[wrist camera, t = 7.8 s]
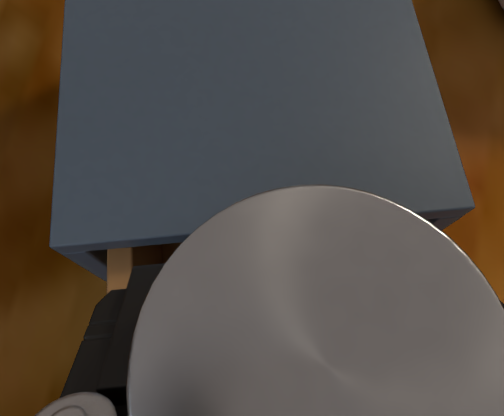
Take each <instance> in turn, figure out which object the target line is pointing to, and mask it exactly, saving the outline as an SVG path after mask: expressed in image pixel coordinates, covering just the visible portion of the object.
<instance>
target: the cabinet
mask: <svg viewBox="0 0 504 416" xmlns="http://www.w3.org/2000/svg"><path fill="white" fill-rule="evenodd" d="M316 184H324V185H334V186H345V187H349V188H354V189H358V190H363V191H367V192H370V193H373V194H376V195H379V196H382V197H385V198H388V199H390V200H392V201H394V202H396V203H398V204H400V205H403V206H405V207H407V208H409V209H411V210H412V211H414V212H415V213H417V214H419V215H420V216H422V217H423V218H425V219H427V220H428V221H430V222H431V223H432V224H434V225H435V226H436V227H437V228H439V229H440V230H443V229H444V228H446V227H447V226H449V225H450V224H452V223H453V222H455V221H456V220H458V219H459V218H461V217H462V216H463V215H465V214H466V213H468V212H469V211H471V210H472V209H474V208H475V204H474V201H473V198H472V195H471V191H470V188H469V185H468V182H467V179H466V175H465V172H464V169H463V166H462V162H461V159H460V156H459V153H458V149H457V146H456V143H455V140H454V136H453V133H452V130H451V127H450V123H449V120H448V117H447V114H446V110H445V107H444V104H443V101H442V97H441V94H440V91H439V88H438V84H437V81H436V78H435V75H434V71H433V68H432V65H431V62H430V59H429V55H428V52H427V49H426V46H425V42H424V39H423V36H422V33H421V29H420V26H419V23H418V20H417V16H416V13H415V10H414V7H413V3H412V0H65V10H64V26H63V41H62V57H61V72H60V88H59V104H58V119H57V135H56V150H55V166H54V182H53V197H52V213H51V228H50V244H49V246H50V248H52V249H53V250H55V251H57V252H58V253H61V254H62V255H64V256H65V257H67V258H68V259H70V260H72V261H73V262H75V263H77V264H78V265H80V266H82V267H83V268H85V269H86V270H88V271H90V272H91V273H93V274H95V275H96V276H98V277H100V278H101V279H103V280H104V281H106V282H107V249H116V248H127V247H137V246H148V245H159V244H169V243H180V242H183V241H184V240H185V239H186V238H187V237H188V236H189V235H190V234H191V233H192V232H193V231H194V230H195V229H196V228H197V227H199V226H200V225H201V224H203V223H204V222H205V221H207V220H208V219H209V218H211V217H212V216H213V215H215V214H216V213H218V212H220V211H222V210H223V209H225V208H227V207H229V206H230V205H232V204H234V203H236V202H238V201H240V200H243V199H245V198H248V197H250V196H253V195H255V194H258V193H262V192H265V191H269V190H273V189H276V188H282V187H289V186H296V185H316Z"/></svg>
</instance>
